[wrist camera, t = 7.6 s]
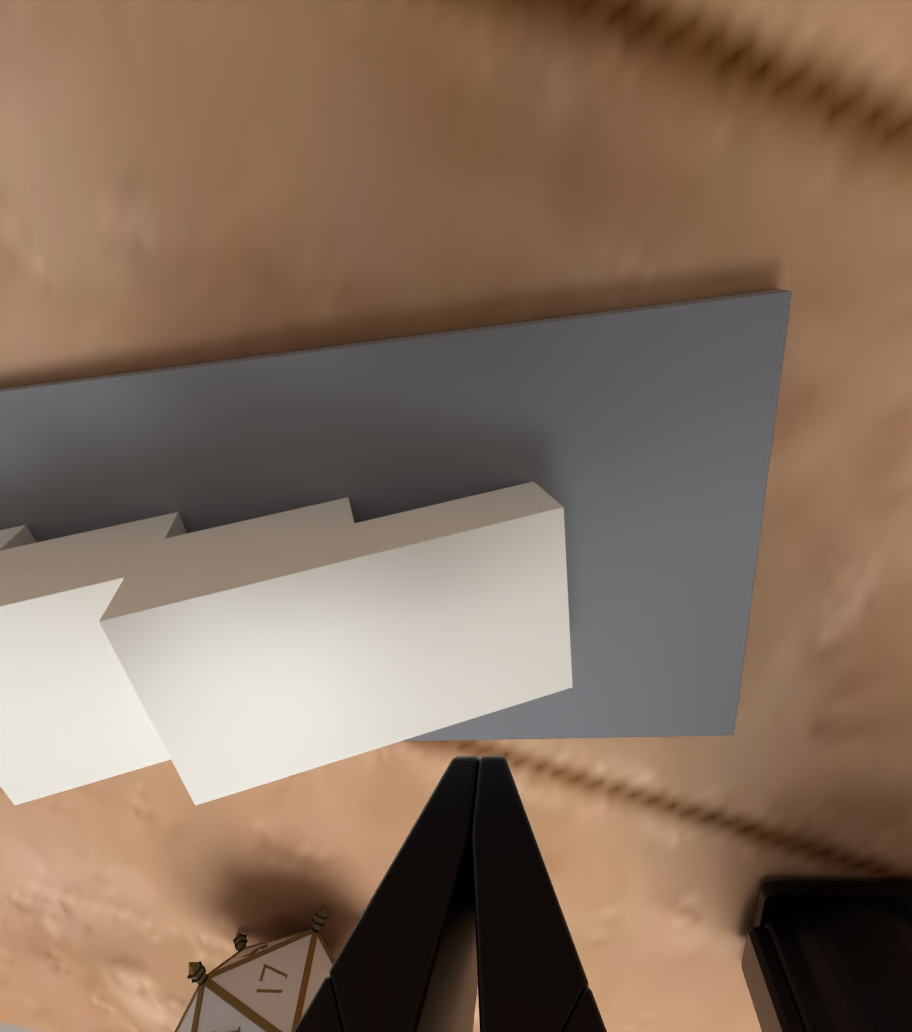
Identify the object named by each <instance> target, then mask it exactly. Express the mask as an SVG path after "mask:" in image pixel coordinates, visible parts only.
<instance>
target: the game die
mask: <svg viewBox="0 0 912 1032" xmlns="http://www.w3.org/2000/svg"><path fill="white" fill-rule="evenodd" d="M326 919H327V917H326V907H325V906H324V907H323V908H322V909H320V910H319V911H318V912H317V913H315V917H314V919H312V921H313V926H312V928H311V929H309V930H306V931H302V932H299V933H295V934H291V935H288V936H284V937H281V938H277V939H273V940H270V941H266V942H263V943H259V944H255V945H252V946H248V947H246V943H247V940H246V936H247V935H244V934H242V933H240V932H239V931H238V932H237V935H236V937H235V939H234V940H233V941H234V944H235V948H236V950H238V952H237V953H236V954H234V955H233V956H231V957H230V958H229V959H227V960H226V961H225V962H223V963H222V964H221V965H219V966H218V967H216V968H215V969H214V970H212V971H211V972H210V973H208V974H206V973H205V972H206V970H205V967H204V966H202V963H201V961H199V962H189V975H188V977H187V978H188V979H189V978H191V979H192V983H193V982H197V983H198V984H199V985H198V987H197V989H196V991H195V993H194V995H193V997H192V999H191V1001H190V1003H189V1005H188V1007H187V1008H186V1010H185V1012H184V1014H183V1016H182V1018H181V1020H180V1022H179V1024H178V1026H177V1028H176V1030H175V1032H293V1031H294V1029H295V1028H296V1026H297V1024H298V1023H299V1021H300V1020H301V1018H302V1016H303V1015H304V1013H305V1011H306V1010H307V1008H308V1006H309V1005H310V1003H311V1001H312V999H313V998H314V996H315V994H316V993H317V991H318V989H319V987H320V986H321V984H322V982H323V980H324V979H325V978H326V977H330V974H329V972H330V969H331V967H332V965H333V964H334V962H335V961H334V959H333V957H332V955H331V953H330V952H329V950H328V948H327V946H326V944H325V942H324V940H323V938H322V937H321V935H320V933H319V930H320V928H321V927H322V926H323V925H324V921H325V920H326Z"/></svg>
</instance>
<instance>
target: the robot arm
mask: <svg viewBox="0 0 912 1032" xmlns="http://www.w3.org/2000/svg"><path fill="white" fill-rule="evenodd" d="M742 970H743V973H744V976H745V979H746V983H747V986H748V989H749V992H750V995H751V998H752V1001H753V1005H754V1008H755V1011H756V1014H757V1017H758V1020H759V1024H760V1027H761V1030H762V1032H912V884H906V883H852V882H799V881H772V882H768V883H765V884H764V885H762V886H761V888H760V891H759V896H758V901H757V906H756V912H755V917H754V922H753V926H752V927H751V928H750V930H749V932H748V934H747V939H746V944H745V949H744V955H743V960H742ZM329 974H330V977H326V978H325V979H324V980H323V982H322V984H321V986H320V987H319V989H318V991H317V993H316V994H315V996H314V998H313V999H312V1001H311V1003H310V1005H309V1006H308V1008H307V1010H306V1011H305V1013H304V1015H303V1016H302V1018H301V1020H300V1021H299V1023H298V1024H297V1026H296V1028H295V1029H294V1031H293V1032H473V1023H474V1013H475V1004H476V995H477V985H478V995H479V1017H480V1032H607V1031H606V1028H605V1026H604V1023H603V1020H602V1018H601V1015H600V1012H599V1010H598V1007H597V1004H596V1001H595V999H594V996H593V993H592V991H591V990H590V989H589V986H588V980H587V978H586V975H585V972H584V970H583V967H582V964H581V961H580V959H579V956H578V953H577V951H576V948H575V945H574V942H573V940H572V937H571V934H570V932H569V929H568V926H567V923H566V921H565V918H564V915H563V913H562V910H561V907H560V905H559V902H558V899H557V896H556V894H555V891H554V888H553V886H552V883H551V880H550V877H549V875H548V872H547V869H546V867H545V864H544V861H543V858H542V856H541V853H540V850H539V848H538V845H537V842H536V839H535V837H534V834H533V831H532V829H531V826H530V823H529V820H528V818H527V815H526V812H525V810H524V807H523V804H522V801H521V799H520V796H519V793H518V791H517V788H516V785H515V783H514V780H513V777H512V774H511V772H510V769H509V766H508V764H507V761H506V759H505V757H504V756H502V755H492V756H482V757H481V758H480V760H479V758H478V757H477V756H457V757H455V758H453V760H452V761H451V762H450V764H449V766H448V768H447V769H446V771H445V773H444V774H443V776H442V778H441V780H440V781H439V783H438V785H437V787H436V788H435V790H434V792H433V793H432V795H431V797H430V799H429V800H428V802H427V804H426V805H425V807H424V809H423V811H422V812H421V814H420V816H419V818H418V819H417V821H416V823H415V824H414V826H413V828H412V830H411V831H410V833H409V835H408V836H407V838H406V840H405V842H404V843H403V845H402V847H401V848H400V850H399V852H398V854H397V855H396V857H395V859H394V861H393V862H392V864H391V866H390V867H389V869H388V871H387V873H386V874H385V876H384V878H383V879H382V881H381V883H380V885H379V886H378V888H377V890H376V892H375V893H374V895H373V897H372V898H371V900H370V902H369V904H368V905H367V907H366V909H365V910H364V912H363V914H362V916H361V917H360V919H359V921H358V922H357V924H356V926H355V928H354V929H353V931H352V933H351V935H350V936H349V938H348V940H347V941H346V943H345V945H344V947H343V948H342V950H341V952H340V953H339V955H338V957H337V959H336V960H335V962H334V964H333V965H332V967H331V969H330V972H329Z"/></svg>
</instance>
